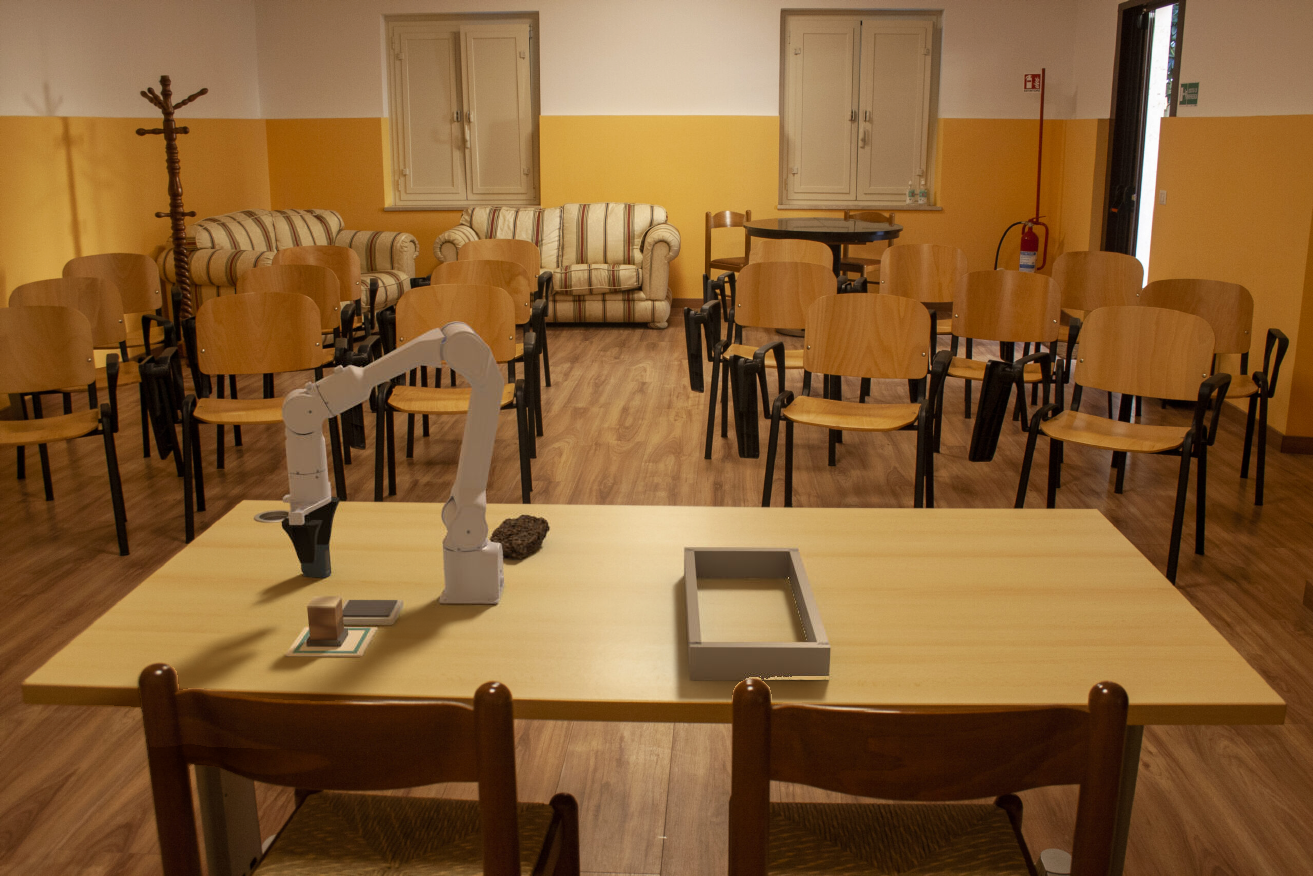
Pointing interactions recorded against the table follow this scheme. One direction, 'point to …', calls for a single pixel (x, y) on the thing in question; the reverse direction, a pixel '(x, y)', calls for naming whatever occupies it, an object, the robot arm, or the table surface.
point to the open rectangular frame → (753, 656)
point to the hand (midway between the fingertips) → (315, 553)
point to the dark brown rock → (520, 535)
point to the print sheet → (350, 648)
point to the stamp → (326, 622)
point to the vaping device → (318, 563)
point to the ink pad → (371, 612)
